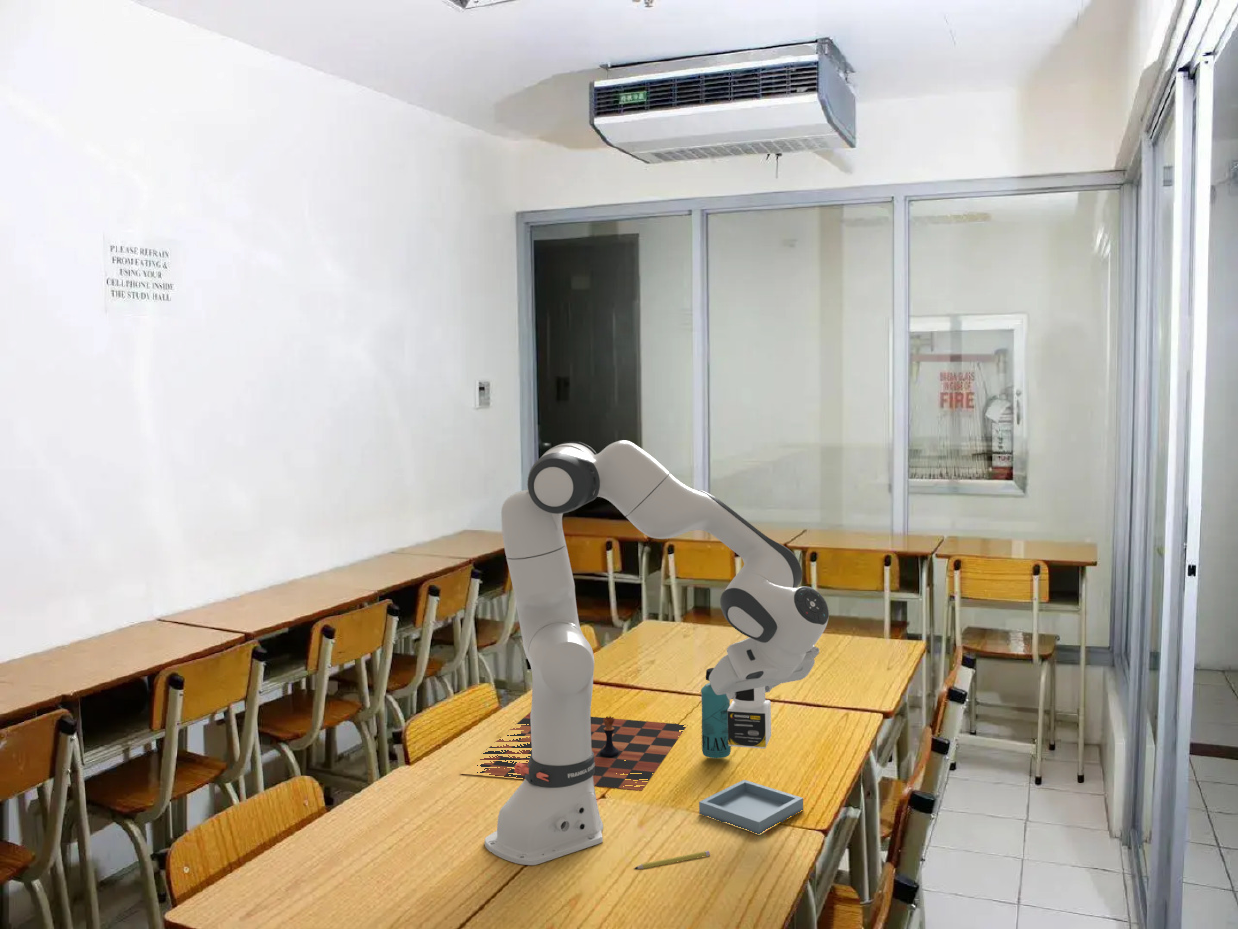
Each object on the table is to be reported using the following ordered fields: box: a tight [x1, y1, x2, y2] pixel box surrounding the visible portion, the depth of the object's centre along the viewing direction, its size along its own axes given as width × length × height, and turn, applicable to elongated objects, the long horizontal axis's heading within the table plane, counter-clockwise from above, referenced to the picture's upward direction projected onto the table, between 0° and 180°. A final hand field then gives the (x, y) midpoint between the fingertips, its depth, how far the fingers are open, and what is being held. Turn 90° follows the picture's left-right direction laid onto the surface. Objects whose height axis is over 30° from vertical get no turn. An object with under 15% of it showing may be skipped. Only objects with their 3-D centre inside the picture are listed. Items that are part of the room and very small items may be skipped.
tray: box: [698, 779, 804, 834], centre depth 199 cm, size 14×14×2 cm
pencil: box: [633, 850, 711, 870], centre depth 180 cm, size 1×14×1 cm, turn 109°
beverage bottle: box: [700, 667, 732, 759], centre depth 226 cm, size 6×7×20 cm
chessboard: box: [477, 711, 687, 792], centre depth 236 cm, size 40×40×11 cm
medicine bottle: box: [727, 687, 772, 749], centre depth 197 cm, size 7×7×12 cm
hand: (746, 692), depth 198 cm, fingers closed on medicine bottle, 6 cm apart
